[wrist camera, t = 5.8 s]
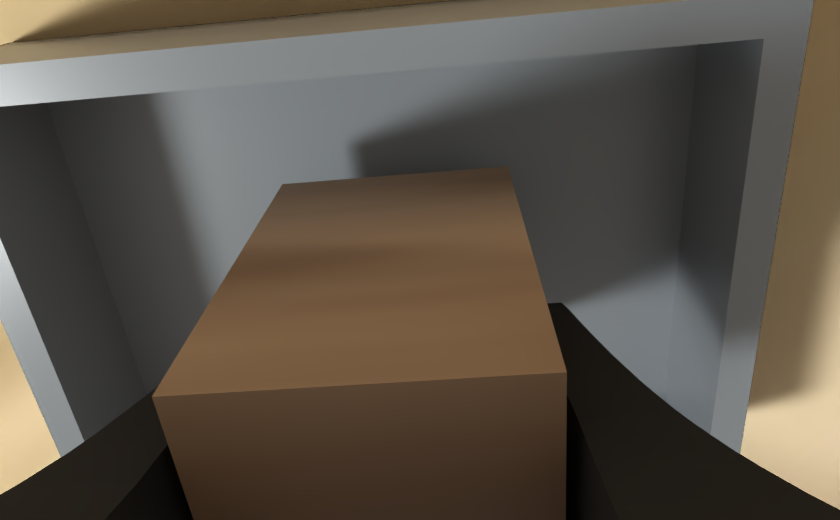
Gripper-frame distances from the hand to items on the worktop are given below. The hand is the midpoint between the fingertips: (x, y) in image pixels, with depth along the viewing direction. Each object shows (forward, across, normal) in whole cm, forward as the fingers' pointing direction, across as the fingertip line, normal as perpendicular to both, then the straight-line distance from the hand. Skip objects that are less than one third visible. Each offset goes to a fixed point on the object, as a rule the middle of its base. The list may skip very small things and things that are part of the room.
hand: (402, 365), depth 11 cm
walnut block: (+2, 0, 0) cm, 2 cm away
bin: (+4, 0, 0) cm, 4 cm away
